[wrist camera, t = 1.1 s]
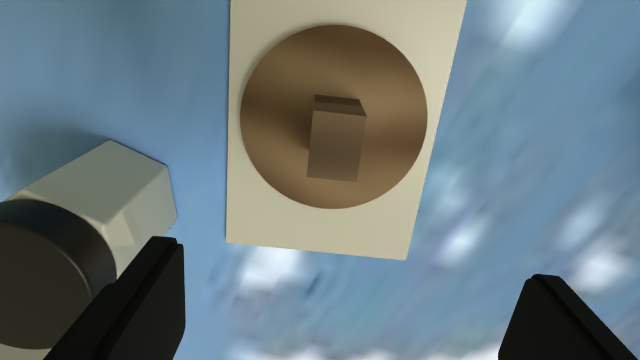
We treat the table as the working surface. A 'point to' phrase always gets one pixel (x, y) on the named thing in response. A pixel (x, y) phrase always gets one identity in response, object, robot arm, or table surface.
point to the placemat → (355, 222)
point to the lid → (333, 116)
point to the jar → (75, 238)
